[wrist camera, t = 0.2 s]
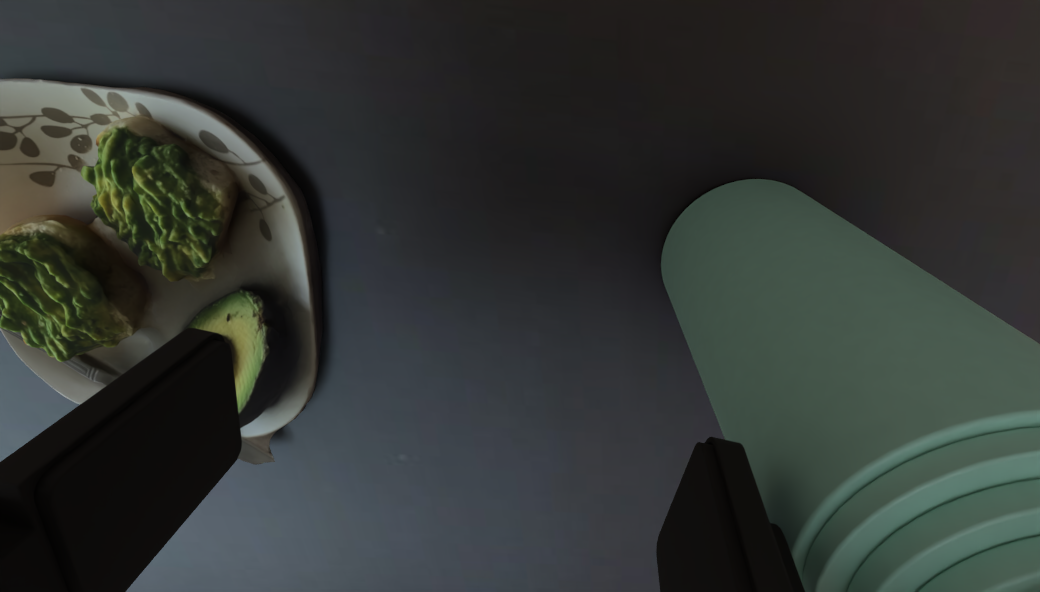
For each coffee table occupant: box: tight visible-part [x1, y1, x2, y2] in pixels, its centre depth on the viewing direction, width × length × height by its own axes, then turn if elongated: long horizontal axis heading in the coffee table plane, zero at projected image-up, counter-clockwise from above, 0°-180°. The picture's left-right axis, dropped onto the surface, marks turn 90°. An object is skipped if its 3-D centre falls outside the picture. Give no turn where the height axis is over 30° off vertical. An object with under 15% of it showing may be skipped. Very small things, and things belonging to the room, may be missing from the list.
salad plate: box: [0, 79, 323, 464], centre depth 23 cm, size 19×18×5 cm
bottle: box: [661, 179, 1040, 592], centre depth 13 cm, size 6×6×19 cm
